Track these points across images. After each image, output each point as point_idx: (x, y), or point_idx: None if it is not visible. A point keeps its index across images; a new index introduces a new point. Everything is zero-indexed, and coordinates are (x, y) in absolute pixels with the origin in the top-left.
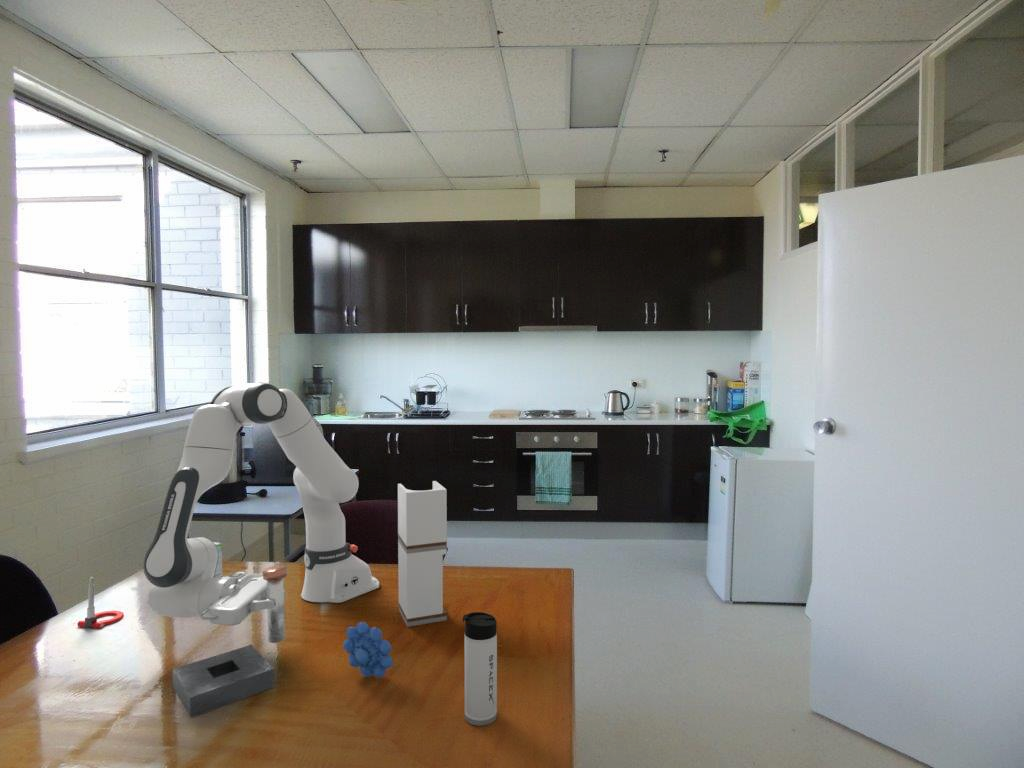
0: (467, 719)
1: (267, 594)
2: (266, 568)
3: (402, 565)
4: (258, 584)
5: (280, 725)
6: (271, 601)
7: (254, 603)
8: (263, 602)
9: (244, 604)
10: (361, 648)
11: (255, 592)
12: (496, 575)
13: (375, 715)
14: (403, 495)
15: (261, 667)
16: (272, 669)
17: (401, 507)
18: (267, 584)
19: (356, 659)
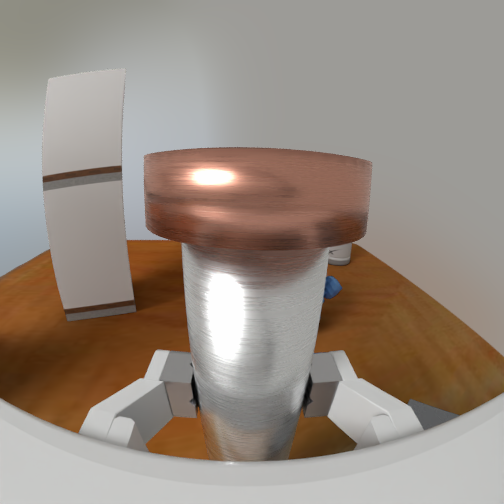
0: (348, 261)
1: (300, 377)
2: (215, 148)
3: (84, 222)
4: (45, 498)
5: (452, 360)
6: (343, 352)
7: (410, 419)
8: (366, 388)
9: (495, 398)
10: (328, 277)
11: (297, 478)
12: (42, 262)
13: (376, 302)
14: (99, 79)
15: (421, 423)
16: (412, 400)
17: (77, 108)
18: (318, 293)
19: (337, 292)
